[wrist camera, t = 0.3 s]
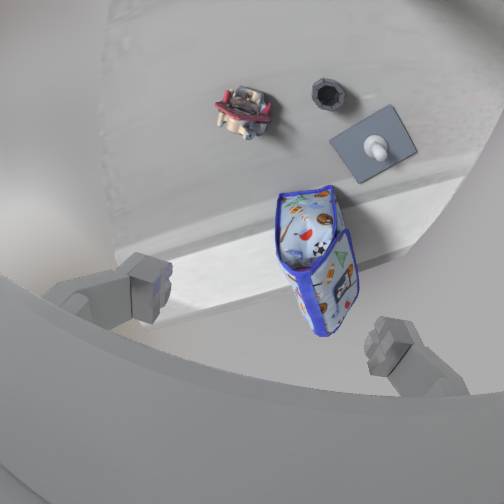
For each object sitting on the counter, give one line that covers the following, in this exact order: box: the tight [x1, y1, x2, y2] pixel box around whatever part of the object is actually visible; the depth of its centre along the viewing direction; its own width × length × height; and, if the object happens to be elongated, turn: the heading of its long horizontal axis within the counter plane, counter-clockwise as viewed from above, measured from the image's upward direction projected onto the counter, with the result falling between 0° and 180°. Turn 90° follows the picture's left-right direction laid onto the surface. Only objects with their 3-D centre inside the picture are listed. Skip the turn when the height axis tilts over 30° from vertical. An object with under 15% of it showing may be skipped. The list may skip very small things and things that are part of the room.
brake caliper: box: [215, 86, 272, 140], centre depth 49 cm, size 11×11×12 cm
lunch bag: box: [275, 185, 359, 337], centre depth 58 cm, size 23×17×27 cm
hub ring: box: [312, 78, 345, 111], centre depth 44 cm, size 6×6×5 cm
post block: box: [329, 105, 416, 184], centre depth 48 cm, size 16×12×6 cm
